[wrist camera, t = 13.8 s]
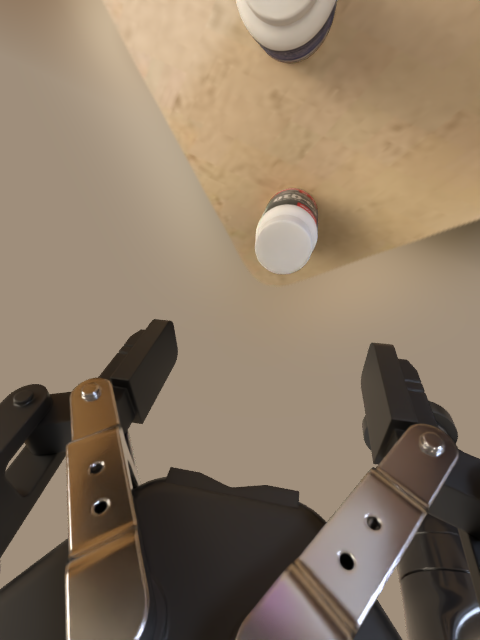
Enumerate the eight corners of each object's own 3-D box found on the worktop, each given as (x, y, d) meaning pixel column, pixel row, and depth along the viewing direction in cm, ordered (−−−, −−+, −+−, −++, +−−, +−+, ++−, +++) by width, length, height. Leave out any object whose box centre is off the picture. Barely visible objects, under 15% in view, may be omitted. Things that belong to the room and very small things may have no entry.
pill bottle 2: (325, 195, 27) (329, 225, 20) (307, 245, 30) (305, 286, 23) (273, 180, 27) (259, 205, 21) (259, 232, 30) (243, 269, 23)
